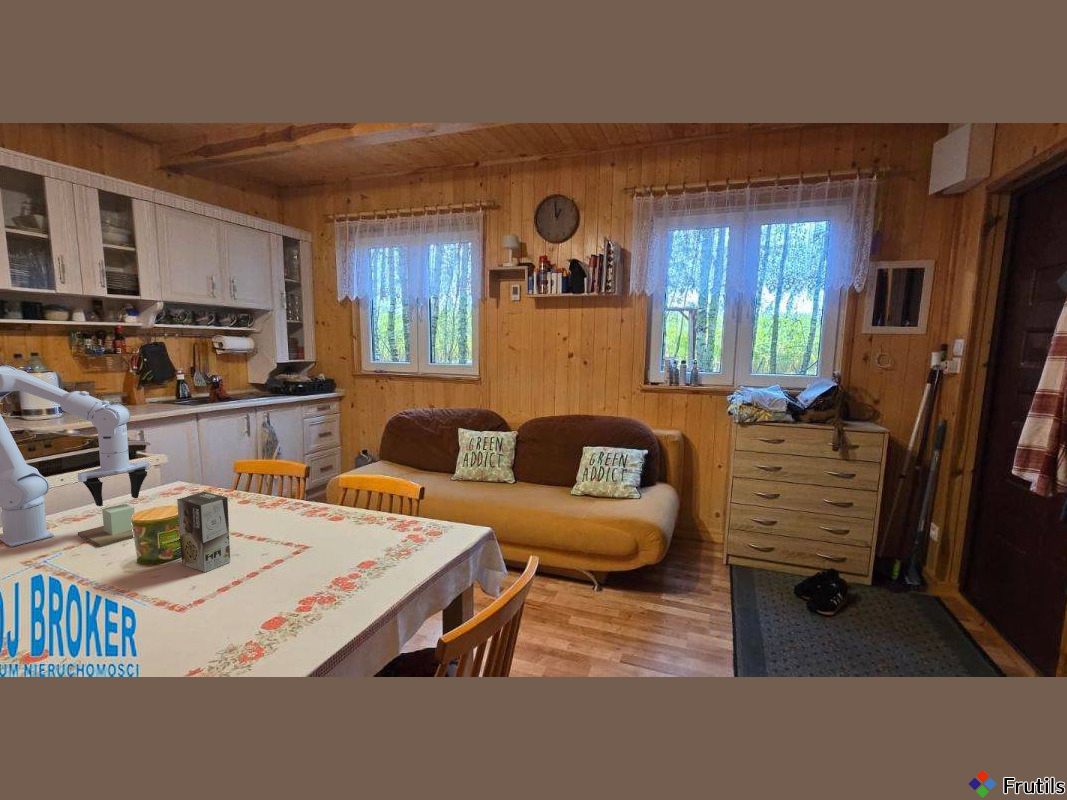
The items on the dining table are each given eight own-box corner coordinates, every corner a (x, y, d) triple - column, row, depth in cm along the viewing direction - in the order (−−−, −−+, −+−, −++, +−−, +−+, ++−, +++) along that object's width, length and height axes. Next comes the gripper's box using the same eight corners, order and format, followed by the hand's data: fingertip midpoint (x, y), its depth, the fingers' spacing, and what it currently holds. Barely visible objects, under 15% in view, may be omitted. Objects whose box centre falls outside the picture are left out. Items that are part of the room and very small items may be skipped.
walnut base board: (78, 535, 126) (77, 532, 126) (137, 519, 137) (137, 517, 137) (100, 547, 120) (99, 544, 120) (160, 530, 131) (160, 527, 131)
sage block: (103, 530, 127) (102, 509, 127) (126, 524, 132) (125, 503, 131) (112, 535, 125) (110, 513, 124) (135, 528, 129) (134, 507, 129)
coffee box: (232, 561, 115) (229, 497, 113) (204, 573, 109) (200, 505, 107) (208, 553, 119) (205, 490, 117) (179, 564, 113) (176, 498, 111)
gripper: (84, 459, 117) (88, 512, 119) (154, 448, 130) (157, 496, 132) (72, 454, 121) (76, 506, 123) (141, 444, 133) (144, 492, 135)
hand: (117, 501), depth 127 cm, fingers open, 7 cm apart
